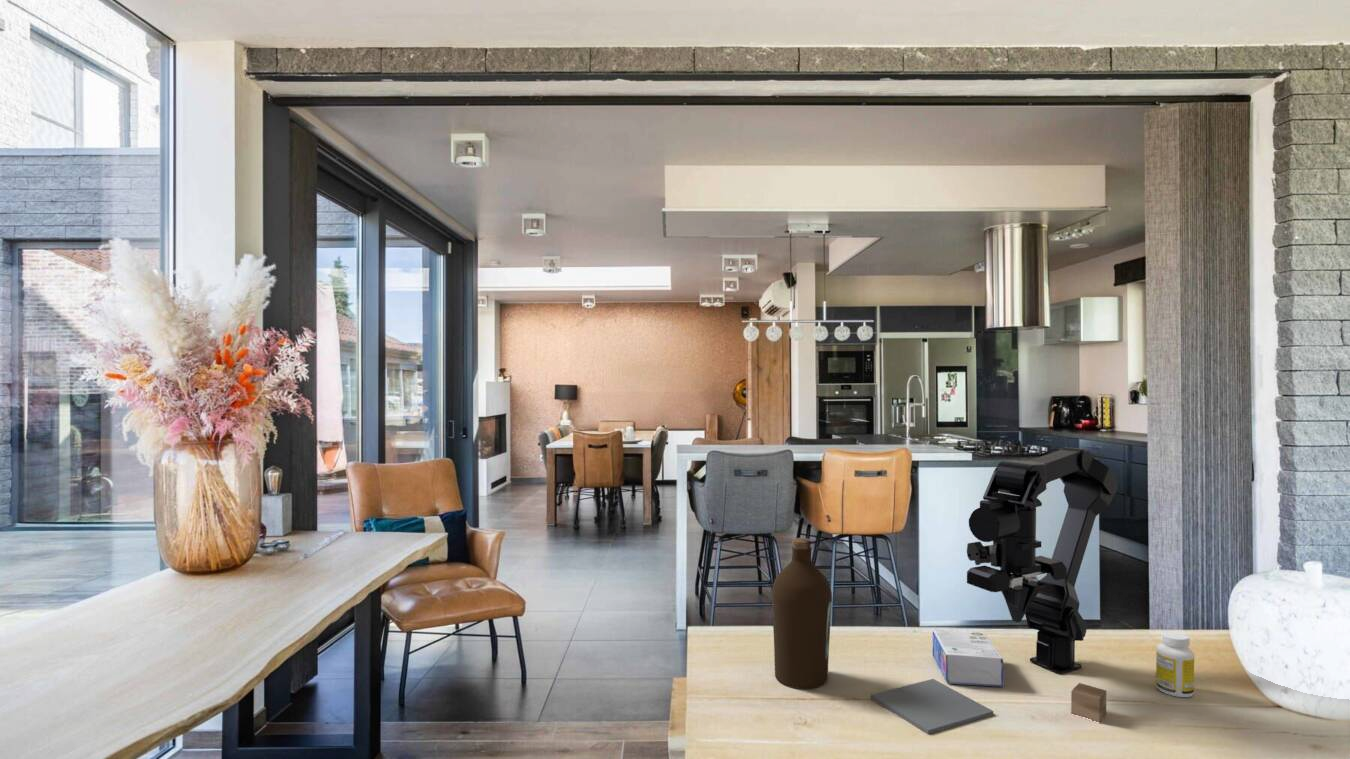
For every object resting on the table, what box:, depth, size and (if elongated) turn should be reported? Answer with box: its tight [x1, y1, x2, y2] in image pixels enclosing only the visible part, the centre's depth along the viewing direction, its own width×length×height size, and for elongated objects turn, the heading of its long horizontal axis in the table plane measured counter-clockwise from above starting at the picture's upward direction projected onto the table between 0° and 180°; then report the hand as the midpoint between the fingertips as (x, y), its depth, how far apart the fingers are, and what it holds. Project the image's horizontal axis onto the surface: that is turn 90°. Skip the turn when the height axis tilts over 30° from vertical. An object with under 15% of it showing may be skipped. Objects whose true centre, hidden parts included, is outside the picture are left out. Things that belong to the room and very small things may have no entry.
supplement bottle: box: [1155, 630, 1195, 698], centre depth 126 cm, size 5×5×10 cm
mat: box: [870, 678, 994, 735], centre depth 120 cm, size 14×13×1 cm
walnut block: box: [1070, 682, 1107, 723], centre depth 118 cm, size 4×4×4 cm
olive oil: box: [771, 537, 833, 690], centre depth 131 cm, size 11×11×25 cm
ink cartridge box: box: [932, 629, 1004, 688], centre depth 135 cm, size 10×6×14 cm
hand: (1016, 621), depth 129 cm, fingers closed
